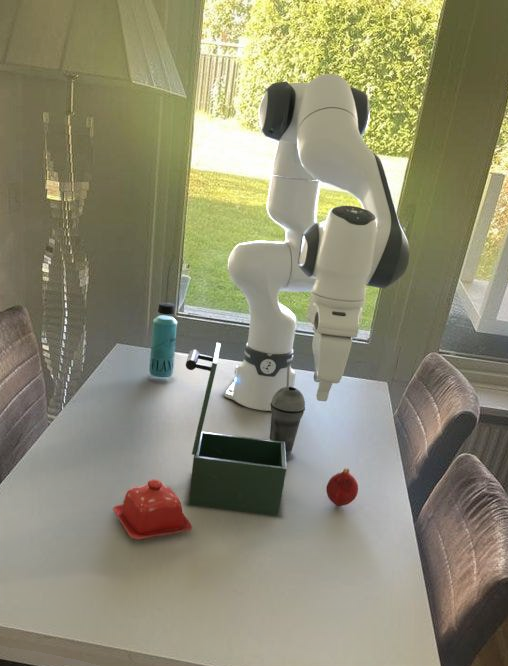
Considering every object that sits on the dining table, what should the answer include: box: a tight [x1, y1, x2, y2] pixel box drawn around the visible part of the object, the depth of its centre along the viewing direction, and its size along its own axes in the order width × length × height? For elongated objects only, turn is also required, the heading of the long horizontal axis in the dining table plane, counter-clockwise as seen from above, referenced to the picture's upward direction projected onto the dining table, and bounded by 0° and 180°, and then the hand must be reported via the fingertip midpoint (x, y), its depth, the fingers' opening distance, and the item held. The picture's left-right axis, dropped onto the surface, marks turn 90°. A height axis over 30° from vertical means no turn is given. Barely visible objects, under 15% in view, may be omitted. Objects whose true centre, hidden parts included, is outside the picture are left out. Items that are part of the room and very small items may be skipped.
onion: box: [325, 467, 359, 507], centre depth 131 cm, size 6×6×8 cm
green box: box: [188, 431, 287, 517], centre depth 131 cm, size 17×12×10 cm
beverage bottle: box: [148, 302, 178, 378], centre depth 180 cm, size 6×7×20 cm
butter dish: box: [112, 478, 193, 540], centre depth 119 cm, size 12×12×8 cm
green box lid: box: [185, 342, 222, 456], centre depth 124 cm, size 17×12×5 cm
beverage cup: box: [269, 366, 306, 461], centre depth 145 cm, size 7×7×20 cm
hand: (319, 390), depth 122 cm, fingers open, 8 cm apart
